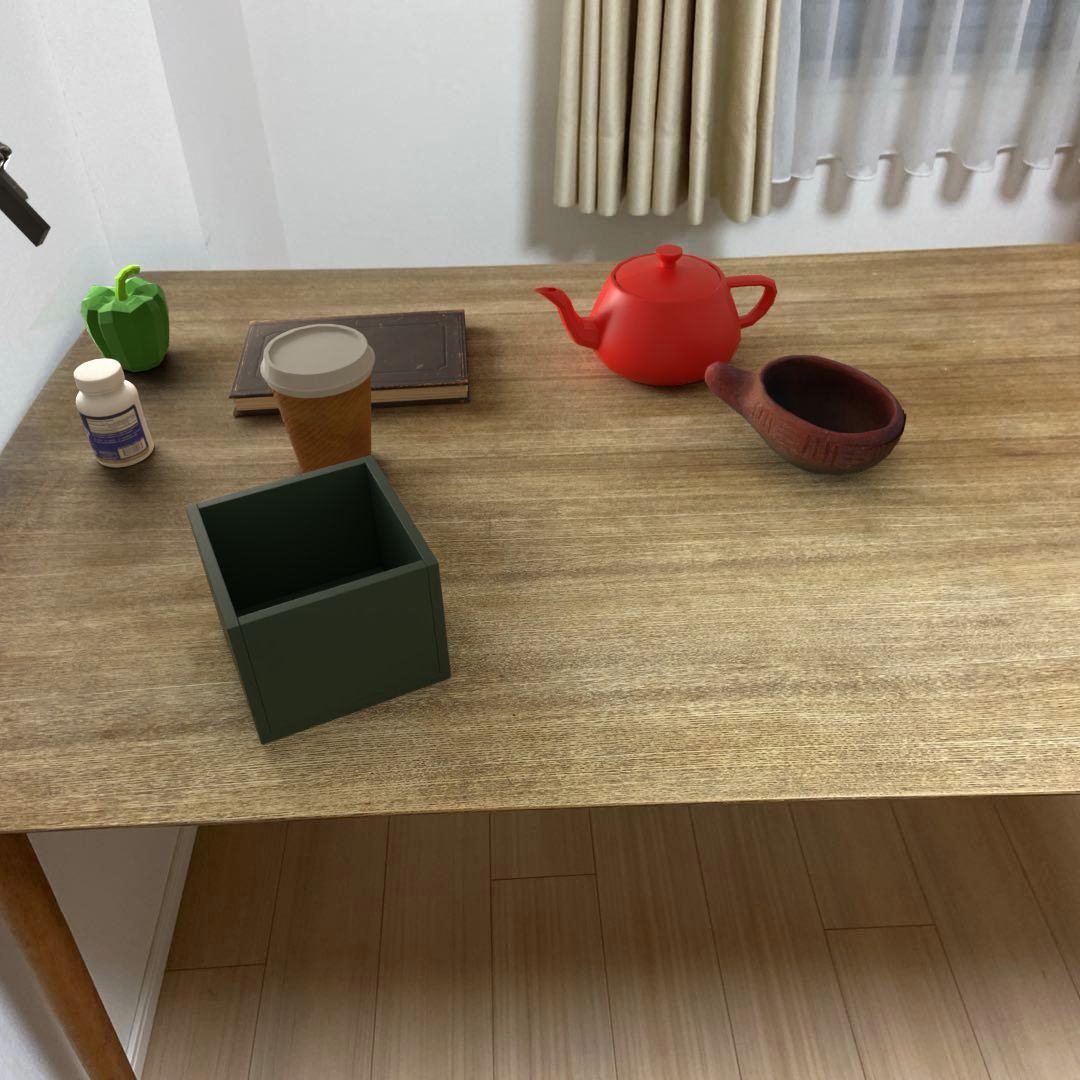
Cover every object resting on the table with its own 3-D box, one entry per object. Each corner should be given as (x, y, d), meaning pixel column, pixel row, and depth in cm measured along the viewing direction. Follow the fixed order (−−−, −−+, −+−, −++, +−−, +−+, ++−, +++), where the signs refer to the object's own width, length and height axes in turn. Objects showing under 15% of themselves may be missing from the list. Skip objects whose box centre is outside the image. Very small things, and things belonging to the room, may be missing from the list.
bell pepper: (109, 389, 103) (79, 298, 97) (92, 355, 109) (62, 267, 103) (191, 366, 107) (167, 277, 100) (170, 334, 112) (146, 248, 106)
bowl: (854, 410, 98) (870, 335, 93) (917, 488, 88) (938, 409, 83) (693, 430, 96) (700, 355, 91) (739, 512, 86) (750, 433, 81)
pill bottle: (102, 439, 96) (73, 356, 91) (159, 434, 97) (133, 352, 91) (90, 471, 92) (58, 387, 87) (149, 467, 93) (121, 382, 87)
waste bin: (261, 745, 68) (226, 629, 61) (219, 617, 77) (184, 505, 70) (451, 677, 72) (438, 562, 65) (389, 565, 82) (372, 454, 75)
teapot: (743, 314, 113) (755, 207, 105) (796, 385, 101) (815, 271, 94) (522, 339, 110) (518, 230, 102) (551, 415, 98) (549, 299, 90)
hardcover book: (469, 402, 100) (468, 382, 99) (233, 416, 99) (228, 396, 98) (465, 325, 113) (464, 306, 111) (255, 337, 111) (251, 317, 110)
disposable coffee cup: (377, 428, 97) (361, 313, 89) (399, 484, 90) (383, 365, 82) (277, 447, 95) (251, 332, 87) (290, 507, 88) (264, 386, 80)
